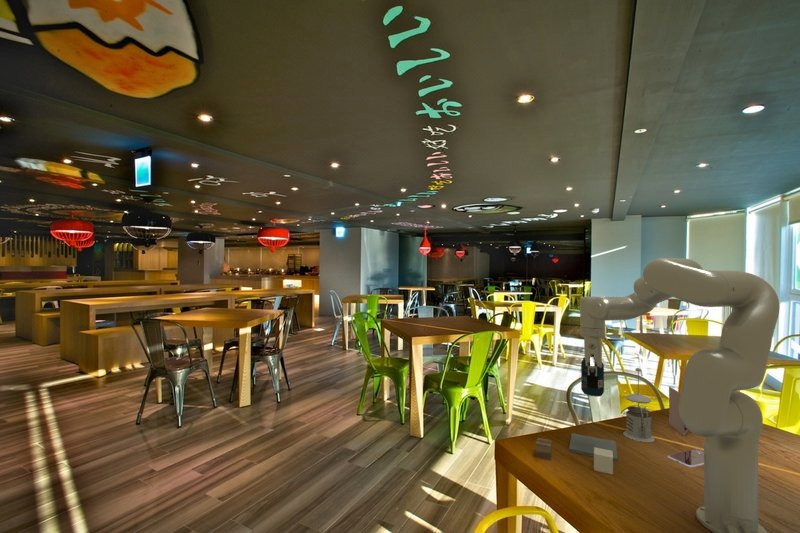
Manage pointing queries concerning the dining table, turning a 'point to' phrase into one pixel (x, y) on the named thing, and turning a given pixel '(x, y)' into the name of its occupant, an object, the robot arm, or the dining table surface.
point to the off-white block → (603, 460)
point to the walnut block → (544, 448)
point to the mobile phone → (689, 458)
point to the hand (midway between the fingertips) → (592, 384)
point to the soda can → (584, 373)
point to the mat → (590, 445)
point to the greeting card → (675, 412)
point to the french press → (638, 418)
